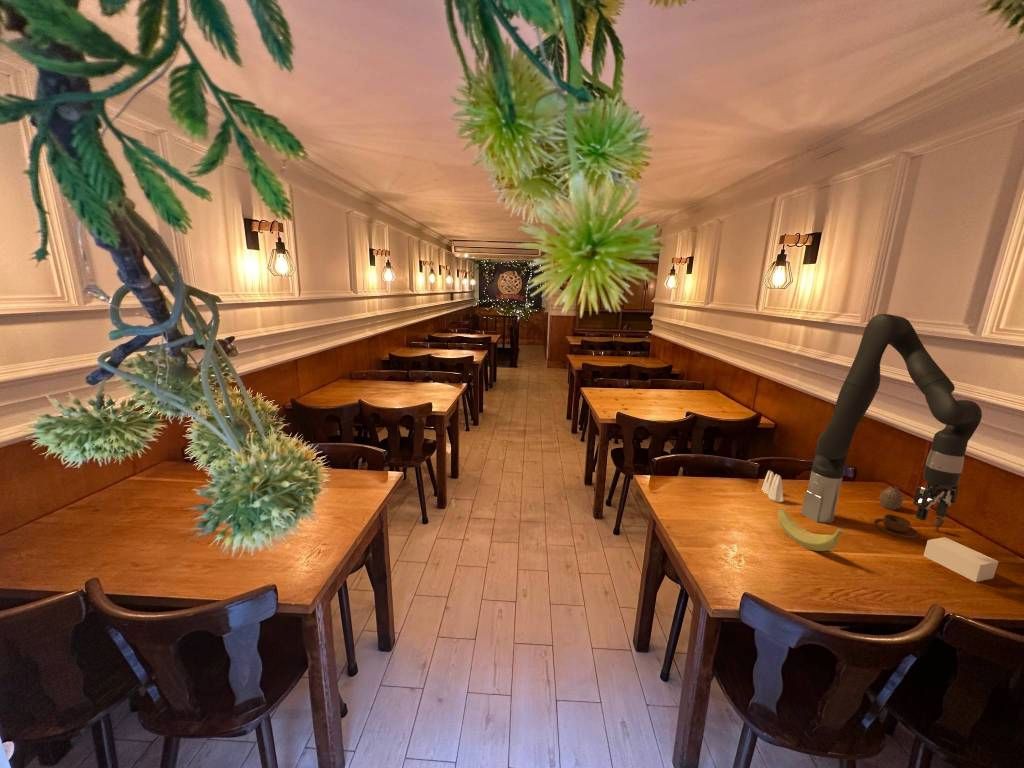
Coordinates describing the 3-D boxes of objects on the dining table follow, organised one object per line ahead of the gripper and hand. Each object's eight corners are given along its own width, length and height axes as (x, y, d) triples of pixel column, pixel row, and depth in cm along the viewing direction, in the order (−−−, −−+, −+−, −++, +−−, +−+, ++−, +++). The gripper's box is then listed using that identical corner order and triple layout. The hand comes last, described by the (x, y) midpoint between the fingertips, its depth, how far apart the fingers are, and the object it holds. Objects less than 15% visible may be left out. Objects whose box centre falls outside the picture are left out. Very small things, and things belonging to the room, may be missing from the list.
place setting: (868, 515, 165) (871, 501, 164) (939, 532, 155) (943, 517, 154) (877, 537, 150) (881, 521, 149) (956, 556, 140) (961, 540, 139)
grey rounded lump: (905, 512, 168) (910, 491, 166) (887, 511, 168) (892, 490, 166) (890, 503, 174) (895, 483, 172) (873, 503, 174) (878, 482, 172)
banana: (795, 549, 147) (856, 549, 130) (784, 551, 145) (843, 551, 128) (783, 508, 152) (839, 502, 134) (771, 509, 150) (827, 504, 132)
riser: (975, 583, 126) (980, 565, 125) (923, 557, 138) (927, 540, 137) (992, 579, 128) (998, 561, 127) (940, 553, 141) (944, 537, 139)
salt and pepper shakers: (783, 505, 169) (788, 479, 166) (771, 504, 170) (776, 478, 167) (771, 492, 180) (775, 467, 178) (760, 490, 181) (764, 466, 179)
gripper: (942, 474, 121) (929, 527, 124) (975, 469, 125) (961, 521, 128) (911, 464, 128) (899, 514, 131) (944, 460, 132) (931, 508, 135)
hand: (930, 517), depth 130 cm, fingers open, 8 cm apart
